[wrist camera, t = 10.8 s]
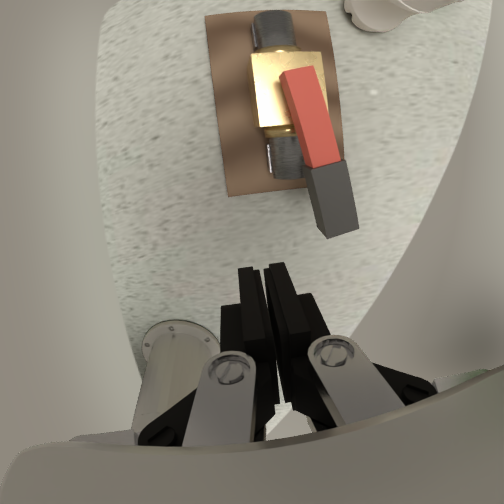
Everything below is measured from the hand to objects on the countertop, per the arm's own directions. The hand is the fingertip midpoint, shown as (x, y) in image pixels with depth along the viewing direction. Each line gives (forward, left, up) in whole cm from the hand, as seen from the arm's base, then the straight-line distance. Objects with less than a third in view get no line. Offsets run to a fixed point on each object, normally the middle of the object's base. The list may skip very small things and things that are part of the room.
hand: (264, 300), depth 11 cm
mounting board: (+10, -5, -25) cm, 27 cm away
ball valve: (+10, -6, -24) cm, 26 cm away
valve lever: (+4, -7, -17) cm, 18 cm away
